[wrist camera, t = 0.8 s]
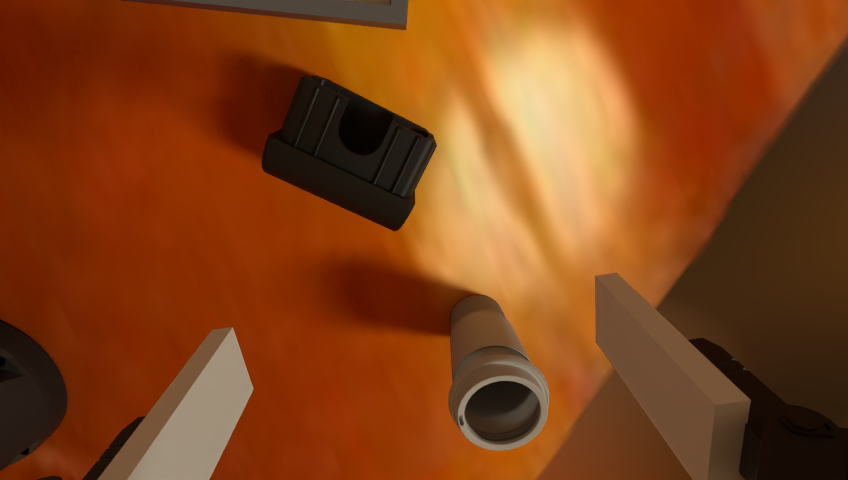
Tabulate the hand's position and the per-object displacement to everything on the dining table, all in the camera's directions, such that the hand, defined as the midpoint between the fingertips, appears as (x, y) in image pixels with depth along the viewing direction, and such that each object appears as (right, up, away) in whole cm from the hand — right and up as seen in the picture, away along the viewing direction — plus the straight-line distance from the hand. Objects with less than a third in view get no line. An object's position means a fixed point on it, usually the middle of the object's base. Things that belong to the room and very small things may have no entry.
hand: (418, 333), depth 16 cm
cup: (+5, -3, +24) cm, 24 cm away
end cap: (-5, +11, +18) cm, 22 cm away
